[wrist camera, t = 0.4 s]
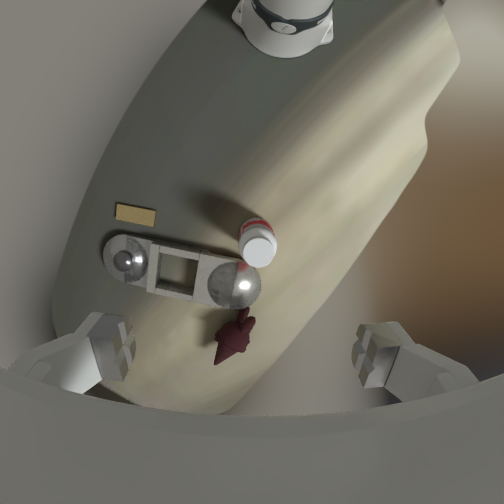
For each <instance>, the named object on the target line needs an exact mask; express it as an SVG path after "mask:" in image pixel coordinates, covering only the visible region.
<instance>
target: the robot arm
mask: <svg viewBox="0 0 504 504" xmlns="http://www.w3.org/2000/svg"><path fill="white" fill-rule="evenodd" d="M333 4H334V0H241V1H240V2H239V4H238V5H237V7H236V9H235V10H234V12H233V14H232V20H233V21H234V22H235V23H236V24H237V25H239V26H240V27H241V28H242V29H243V31H244V33H245V35H246V37H247V39H248V40H249V41H250V43H251V44H252V45H253V46H255V47H256V48H257V49H259V50H260V51H262V52H264V53H266V54H269V55H272V56H275V57H282V58H291V57H297V56H301V55H304V54H306V53H308V52H309V51H311V50H312V49H313V48H315V47H316V46H318V45H323V44H327V43H330V42H331V41H332V39H333V21H332V6H333ZM239 11H241V13H240V12H239ZM132 328H133V325H132V320H131V318H130V317H128V316H120V315H113V314H105V313H99V312H91V314H90V315H89V316H88V317H87V318H86V319H85V321H84V322H83V323H82V324H81V325H80V327H79V328H78V329H77V330H76V331H75V333H74V334H67V335H65V336H63V337H60V338H58V339H55V340H53V341H51V342H48V343H46V344H43V345H41V346H38V347H36V348H34V349H31V350H29V351H26V352H24V353H22V354H20V355H19V356H18V358H17V359H16V360H15V361H14V362H13V363H12V364H11V366H10V367H9V368H8V369H7V370H6V369H3V368H1V367H0V504H504V374H502V375H499V376H496V377H494V378H491V379H488V380H485V381H482V382H479V381H478V380H477V378H476V377H475V376H474V375H473V374H472V372H471V371H470V370H469V369H468V368H467V366H464V365H462V364H460V363H458V362H456V361H454V360H452V359H449V358H447V357H445V356H443V355H441V354H439V353H437V352H435V351H432V350H430V349H428V348H426V347H424V346H422V345H420V344H415V343H414V342H413V340H412V339H411V338H410V337H409V335H408V334H407V333H406V332H405V330H404V329H403V328H402V327H401V325H400V324H399V323H398V322H385V323H374V324H361V325H359V327H358V329H357V333H356V335H357V337H358V338H359V339H358V340H357V341H356V342H355V343H354V344H353V348H352V363H353V366H354V368H355V369H357V370H358V371H360V372H359V375H358V377H359V379H360V381H361V383H362V386H363V387H364V388H372V387H382V386H385V388H386V389H387V390H389V391H390V392H391V393H393V394H394V395H395V396H396V397H398V398H399V399H400V400H401V401H403V403H398V404H392V405H387V406H381V407H375V408H368V409H361V410H354V411H345V412H335V413H324V414H312V415H292V416H231V415H228V416H227V415H212V414H199V413H188V412H178V411H170V410H162V409H155V408H148V407H142V406H135V405H130V404H124V403H119V402H114V401H109V400H105V399H100V398H96V397H91V396H87V395H84V394H83V393H84V392H85V391H87V390H88V389H90V388H91V387H92V386H94V385H95V384H96V383H98V382H99V381H101V380H102V379H108V380H114V381H121V382H123V381H124V379H125V377H126V375H127V373H128V371H129V369H128V364H130V363H132V362H133V360H134V358H135V353H136V341H135V337H134V336H133V335H132V334H131V330H132Z"/></svg>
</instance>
